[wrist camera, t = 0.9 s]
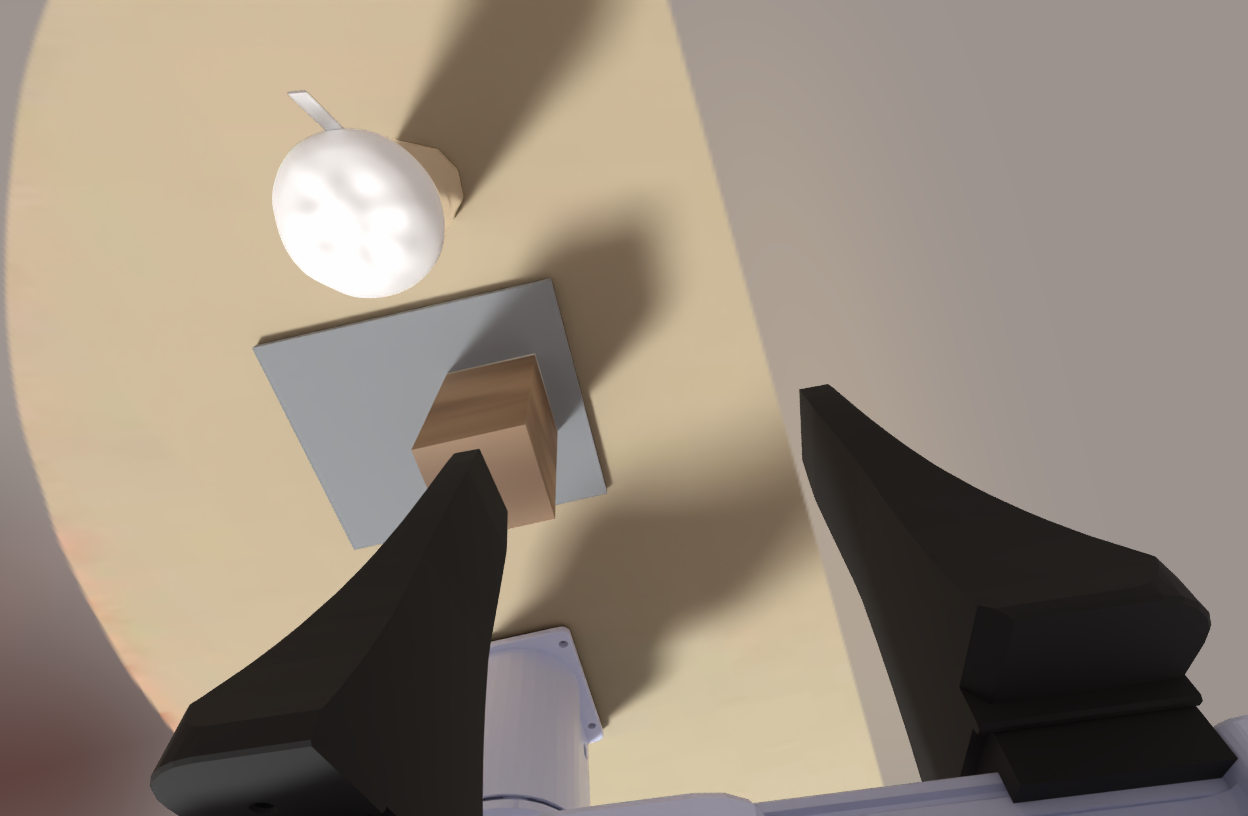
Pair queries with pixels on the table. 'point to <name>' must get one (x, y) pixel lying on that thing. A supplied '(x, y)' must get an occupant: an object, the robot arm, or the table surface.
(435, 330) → the mat
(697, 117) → the table surface
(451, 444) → the walnut block
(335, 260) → the milkshake
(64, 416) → the table surface
